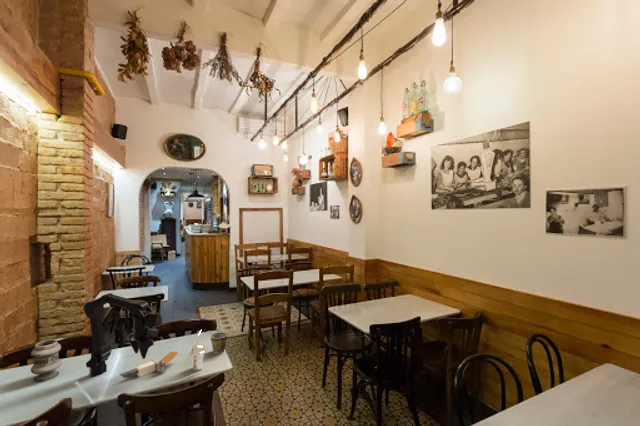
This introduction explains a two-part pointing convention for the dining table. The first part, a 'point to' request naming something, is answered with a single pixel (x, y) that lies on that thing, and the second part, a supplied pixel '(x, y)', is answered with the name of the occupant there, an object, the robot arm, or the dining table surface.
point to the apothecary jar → (46, 360)
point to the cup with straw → (197, 355)
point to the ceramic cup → (218, 342)
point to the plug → (143, 369)
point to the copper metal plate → (167, 358)
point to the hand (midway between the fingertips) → (140, 355)
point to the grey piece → (157, 367)
